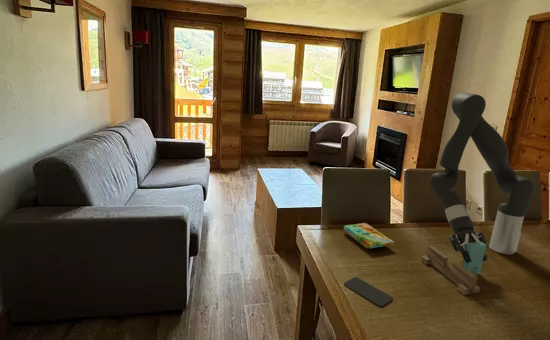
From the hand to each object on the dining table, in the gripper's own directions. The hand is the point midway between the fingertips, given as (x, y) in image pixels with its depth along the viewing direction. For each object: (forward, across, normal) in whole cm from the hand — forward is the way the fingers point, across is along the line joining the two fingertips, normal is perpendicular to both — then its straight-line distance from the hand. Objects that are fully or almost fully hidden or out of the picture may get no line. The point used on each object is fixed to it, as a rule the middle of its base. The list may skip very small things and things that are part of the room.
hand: (477, 261), depth 119 cm
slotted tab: (+3, 0, +5) cm, 6 cm away
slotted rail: (+3, -10, +5) cm, 12 cm away
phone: (+6, -45, +3) cm, 45 cm away
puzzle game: (-18, -26, +27) cm, 42 cm away
